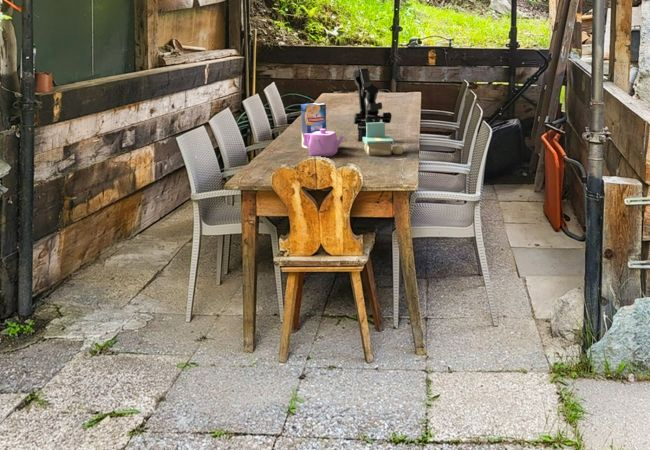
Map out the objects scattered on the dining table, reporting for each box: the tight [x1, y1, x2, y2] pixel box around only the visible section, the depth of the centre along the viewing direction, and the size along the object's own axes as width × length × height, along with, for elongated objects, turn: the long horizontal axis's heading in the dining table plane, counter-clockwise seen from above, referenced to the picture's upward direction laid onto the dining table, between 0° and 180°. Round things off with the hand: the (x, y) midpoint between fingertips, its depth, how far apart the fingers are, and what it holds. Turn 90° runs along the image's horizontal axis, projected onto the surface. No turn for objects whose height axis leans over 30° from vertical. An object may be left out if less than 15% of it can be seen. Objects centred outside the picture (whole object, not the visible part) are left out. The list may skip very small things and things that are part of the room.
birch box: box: [363, 142, 392, 157], centre depth 417 cm, size 14×11×6 cm
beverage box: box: [300, 102, 327, 149], centre depth 436 cm, size 7×11×22 cm, turn 118°
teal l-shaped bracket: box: [362, 121, 395, 146], centre depth 415 cm, size 14×13×9 cm
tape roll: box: [392, 145, 404, 155], centre depth 417 cm, size 5×5×3 cm
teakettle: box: [303, 128, 346, 157], centre depth 417 cm, size 17×17×12 cm
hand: (374, 131), depth 424 cm, fingers closed
